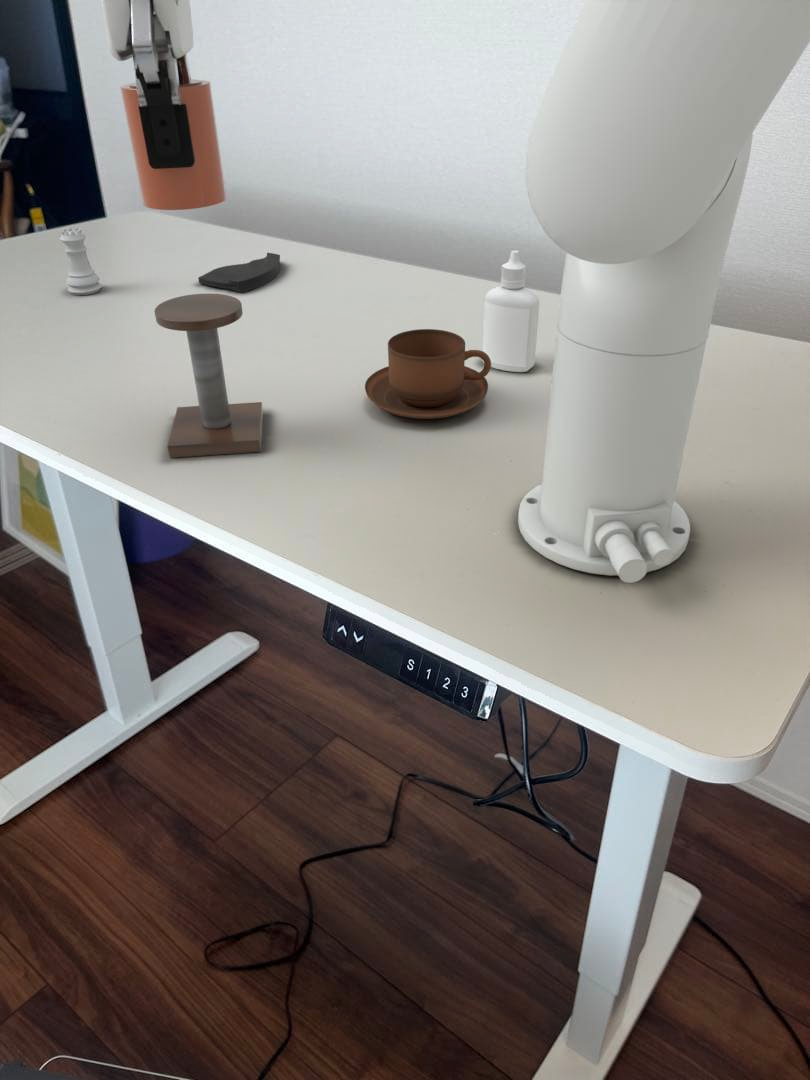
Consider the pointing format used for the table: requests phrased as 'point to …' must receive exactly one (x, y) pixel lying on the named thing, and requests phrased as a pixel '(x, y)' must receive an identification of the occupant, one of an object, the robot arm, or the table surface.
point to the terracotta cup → (206, 174)
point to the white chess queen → (79, 264)
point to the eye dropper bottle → (511, 320)
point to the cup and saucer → (428, 376)
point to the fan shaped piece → (244, 274)
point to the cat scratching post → (209, 381)
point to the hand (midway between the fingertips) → (178, 156)
